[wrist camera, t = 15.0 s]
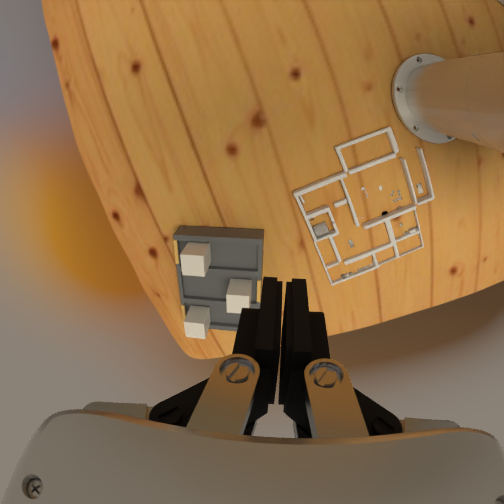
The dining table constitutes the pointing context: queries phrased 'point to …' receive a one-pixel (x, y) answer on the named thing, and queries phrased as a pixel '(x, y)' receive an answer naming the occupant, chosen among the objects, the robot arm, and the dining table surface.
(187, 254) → the white rectangular block
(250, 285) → the white block
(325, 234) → the floor plan model
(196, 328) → the tab
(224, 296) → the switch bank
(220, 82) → the dining table surface
